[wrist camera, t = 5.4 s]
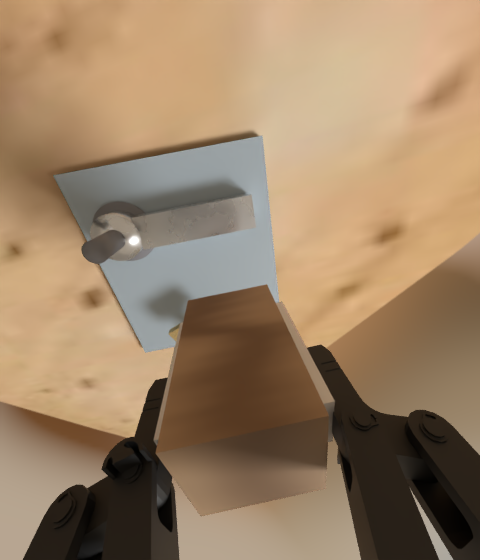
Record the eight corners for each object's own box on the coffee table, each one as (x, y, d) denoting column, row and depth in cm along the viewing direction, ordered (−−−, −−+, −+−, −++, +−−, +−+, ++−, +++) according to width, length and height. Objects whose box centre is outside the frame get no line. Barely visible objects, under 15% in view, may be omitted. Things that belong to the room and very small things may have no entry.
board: (147, 348, 30) (129, 394, 23) (59, 175, 19) (-15, 175, 13) (279, 321, 30) (296, 359, 24) (260, 136, 20) (281, 119, 14)
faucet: (112, 257, 22) (103, 264, 20) (92, 215, 20) (80, 219, 18) (253, 229, 22) (257, 234, 21) (247, 185, 20) (250, 186, 19)
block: (207, 357, 15) (200, 516, 8) (187, 300, 13) (155, 453, 6) (274, 343, 15) (325, 488, 8) (267, 284, 13) (329, 415, 6)
